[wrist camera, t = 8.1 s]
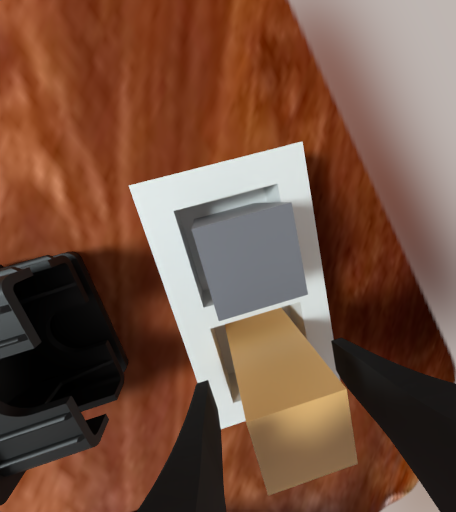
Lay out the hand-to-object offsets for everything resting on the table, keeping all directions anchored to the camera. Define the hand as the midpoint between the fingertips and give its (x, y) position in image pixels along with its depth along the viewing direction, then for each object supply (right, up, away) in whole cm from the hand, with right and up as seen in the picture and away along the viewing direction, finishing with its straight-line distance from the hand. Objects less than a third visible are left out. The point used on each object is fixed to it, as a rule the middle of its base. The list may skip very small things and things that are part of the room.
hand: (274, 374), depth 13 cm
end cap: (-14, +2, +3) cm, 15 cm away
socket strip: (-1, +4, +4) cm, 6 cm away
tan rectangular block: (0, +1, +4) cm, 4 cm away
